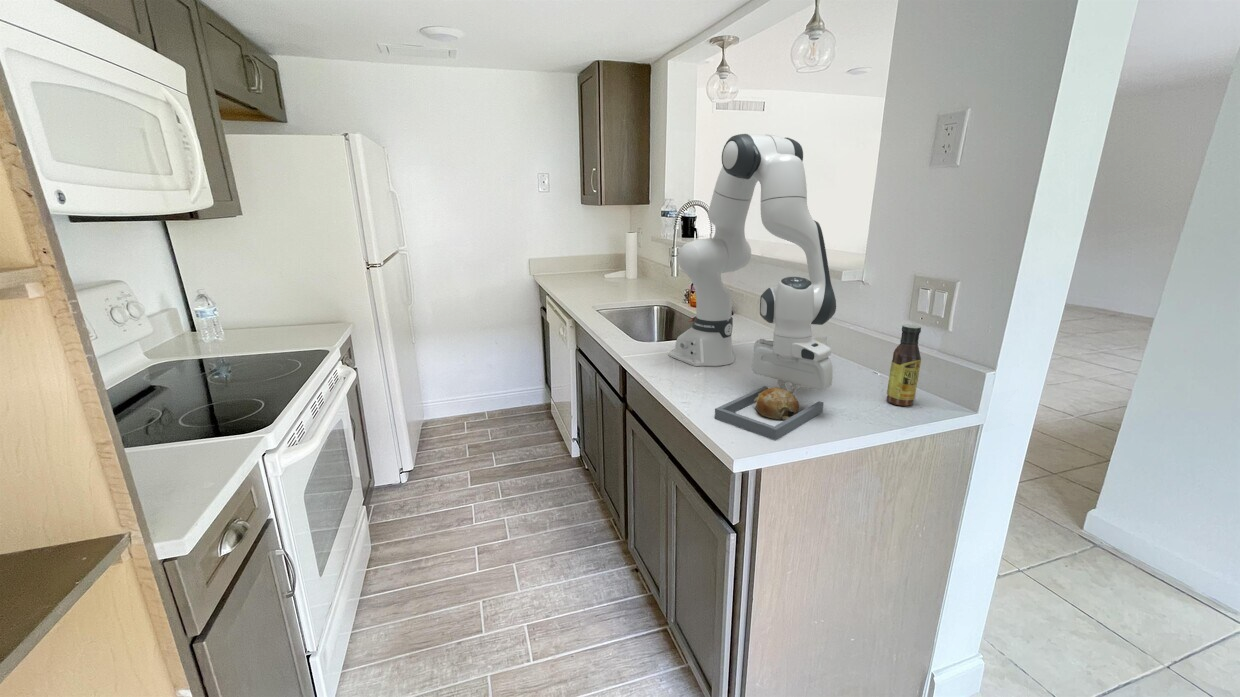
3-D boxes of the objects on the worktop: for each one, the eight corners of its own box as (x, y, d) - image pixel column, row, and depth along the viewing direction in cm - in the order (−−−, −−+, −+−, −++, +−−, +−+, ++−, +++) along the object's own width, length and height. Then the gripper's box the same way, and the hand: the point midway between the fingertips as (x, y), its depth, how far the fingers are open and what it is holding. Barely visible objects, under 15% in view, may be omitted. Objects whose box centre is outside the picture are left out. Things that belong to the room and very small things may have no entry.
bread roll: (769, 435, 121) (781, 411, 116) (743, 405, 127) (754, 382, 122) (798, 425, 125) (812, 402, 120) (772, 397, 132) (783, 374, 127)
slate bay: (714, 418, 122) (715, 408, 122) (764, 394, 136) (764, 385, 135) (775, 440, 111) (776, 429, 110) (822, 412, 124) (823, 402, 123)
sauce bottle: (902, 409, 124) (913, 330, 119) (880, 400, 130) (889, 325, 124) (920, 404, 127) (931, 327, 121) (897, 395, 132) (907, 321, 127)
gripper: (747, 340, 129) (745, 390, 133) (825, 356, 115) (820, 412, 119) (761, 335, 133) (759, 384, 137) (838, 350, 119) (832, 405, 123)
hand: (788, 397), depth 128 cm, fingers closed, pressing on bread roll
